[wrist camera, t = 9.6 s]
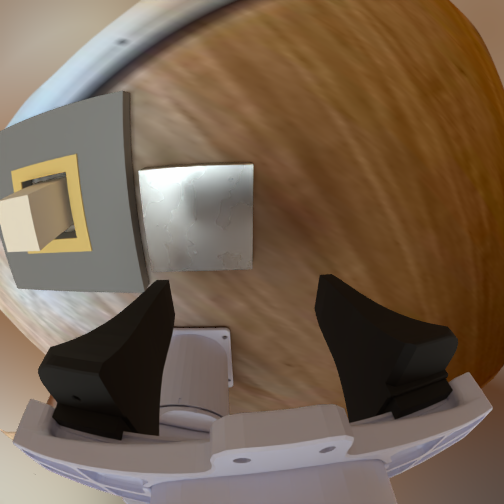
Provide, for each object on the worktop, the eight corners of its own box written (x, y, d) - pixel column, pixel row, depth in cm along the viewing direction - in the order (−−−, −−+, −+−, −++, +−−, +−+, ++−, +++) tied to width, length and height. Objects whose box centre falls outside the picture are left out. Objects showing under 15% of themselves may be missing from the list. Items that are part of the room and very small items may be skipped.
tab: (250, 260, 22) (252, 269, 21) (156, 263, 22) (151, 271, 21) (251, 162, 19) (253, 164, 18) (144, 167, 18) (138, 170, 17)
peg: (77, 220, 20) (40, 250, 14) (45, 223, 19) (7, 252, 14) (70, 175, 18) (27, 194, 12) (38, 182, 18) (-5, 202, 12)
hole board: (149, 283, 23) (144, 293, 21) (24, 281, 21) (17, 289, 20) (129, 93, 16) (121, 90, 14) (-5, 136, 15) (-16, 138, 13)
